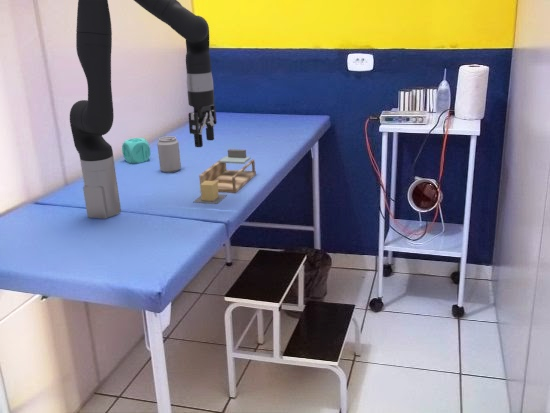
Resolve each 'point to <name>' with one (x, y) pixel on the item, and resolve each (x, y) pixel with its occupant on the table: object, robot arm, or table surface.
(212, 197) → the block
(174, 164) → the can
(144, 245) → the table surface
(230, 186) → the wooden rack
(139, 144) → the decorative dice
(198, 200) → the mat
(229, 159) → the lid
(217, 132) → the table surface
